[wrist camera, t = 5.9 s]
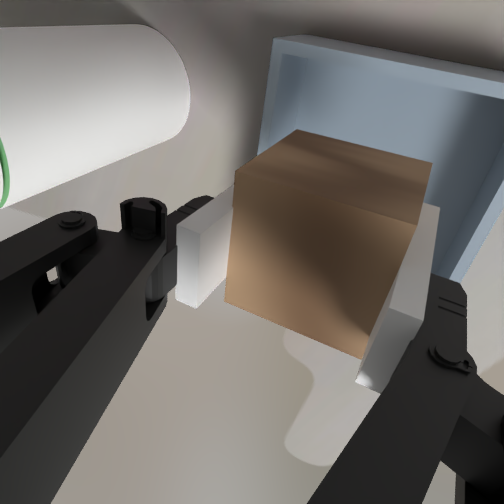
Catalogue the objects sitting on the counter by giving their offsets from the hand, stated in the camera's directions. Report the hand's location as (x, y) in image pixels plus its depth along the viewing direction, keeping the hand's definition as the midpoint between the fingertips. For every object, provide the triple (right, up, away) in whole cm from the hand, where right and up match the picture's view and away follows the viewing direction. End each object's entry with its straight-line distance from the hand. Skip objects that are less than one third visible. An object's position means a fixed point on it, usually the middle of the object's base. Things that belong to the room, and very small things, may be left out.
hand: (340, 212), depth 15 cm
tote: (+5, +3, +11) cm, 12 cm away
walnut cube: (0, 0, 0) cm, 0 cm away
